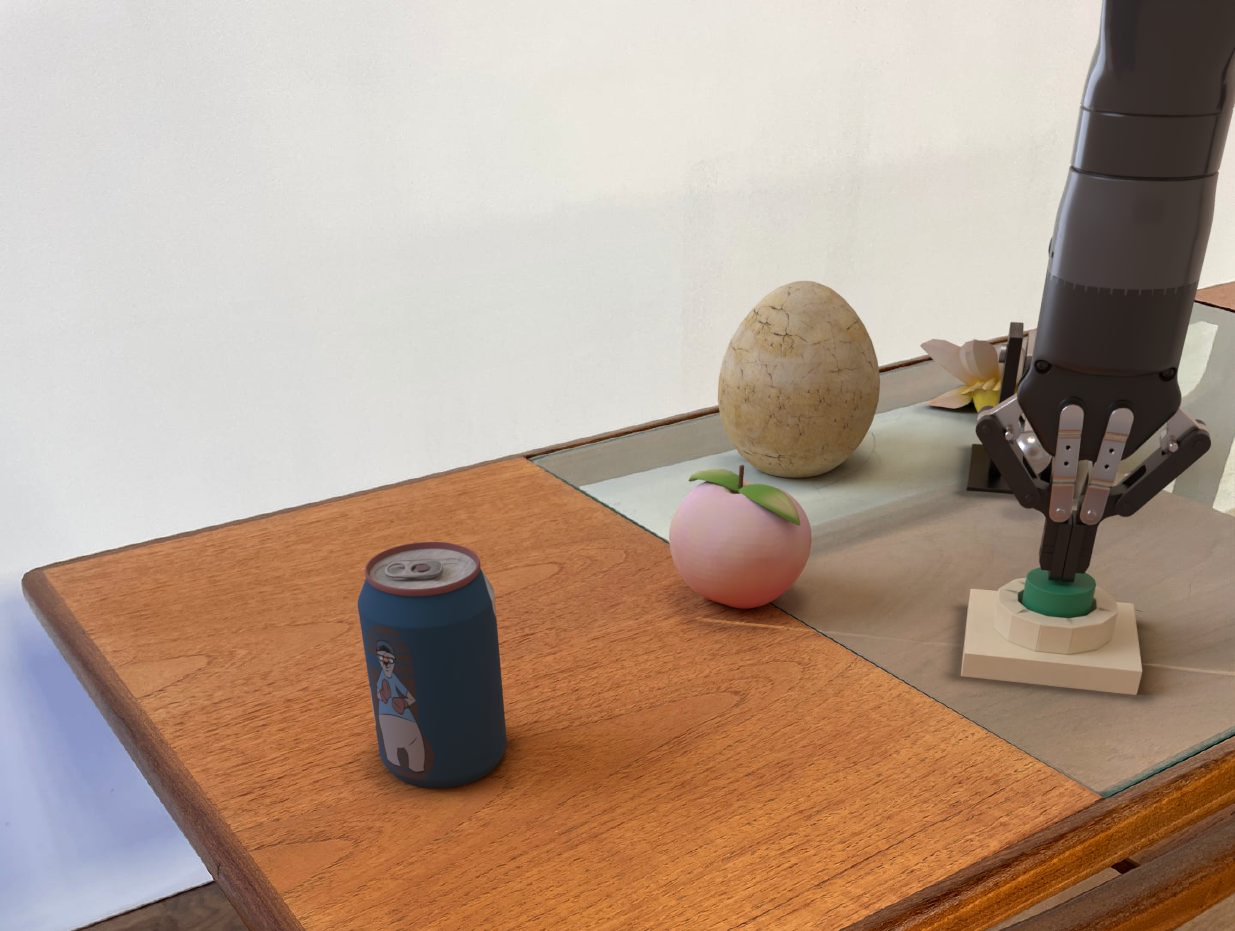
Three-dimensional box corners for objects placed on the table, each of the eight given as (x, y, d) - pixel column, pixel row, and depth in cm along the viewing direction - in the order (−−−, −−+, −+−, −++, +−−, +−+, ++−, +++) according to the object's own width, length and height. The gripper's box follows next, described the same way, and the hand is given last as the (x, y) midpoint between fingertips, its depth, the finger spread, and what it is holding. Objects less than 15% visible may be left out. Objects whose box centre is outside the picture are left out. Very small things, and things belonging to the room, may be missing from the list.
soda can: (511, 731, 74) (495, 534, 67) (505, 799, 68) (487, 593, 61) (390, 734, 74) (362, 538, 67) (374, 803, 68) (342, 597, 61)
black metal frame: (1071, 509, 98) (1102, 352, 92) (964, 501, 100) (987, 346, 93) (1069, 464, 106) (1097, 316, 99) (970, 457, 108) (991, 311, 101)
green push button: (1089, 595, 78) (1095, 568, 77) (1091, 624, 75) (1097, 597, 74) (1022, 589, 79) (1026, 562, 78) (1021, 617, 76) (1026, 590, 75)
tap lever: (1047, 487, 93) (1054, 455, 91) (1001, 483, 94) (1007, 452, 91) (1059, 360, 99) (1066, 326, 96) (1016, 357, 100) (1022, 324, 97)
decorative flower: (1129, 398, 114) (1134, 287, 107) (1070, 462, 109) (1071, 350, 102) (976, 379, 123) (972, 276, 116) (915, 437, 118) (906, 333, 111)
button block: (1126, 634, 82) (1140, 576, 79) (1134, 704, 75) (1149, 643, 72) (965, 618, 84) (974, 562, 82) (959, 685, 77) (968, 625, 75)
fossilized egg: (686, 484, 104) (689, 290, 96) (761, 438, 113) (770, 256, 104) (828, 515, 99) (845, 312, 90) (895, 464, 107) (917, 274, 98)
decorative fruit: (640, 617, 85) (639, 471, 79) (709, 574, 90) (712, 434, 84) (761, 656, 80) (768, 504, 75) (826, 608, 86) (838, 462, 80)
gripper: (989, 276, 64) (943, 592, 75) (1272, 289, 62) (1184, 615, 72) (993, 245, 70) (950, 541, 80) (1251, 254, 67) (1173, 561, 78)
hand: (1061, 576), depth 76 cm, fingers closed
